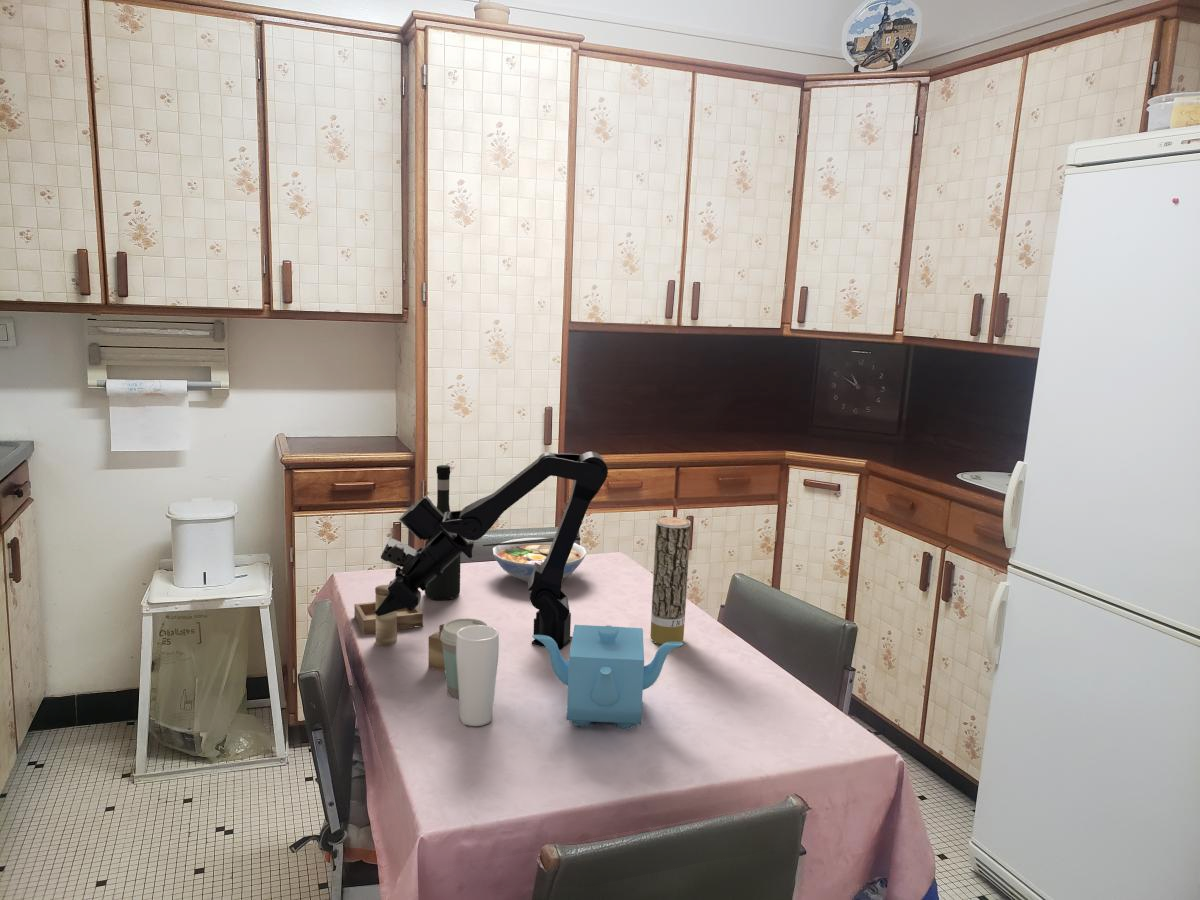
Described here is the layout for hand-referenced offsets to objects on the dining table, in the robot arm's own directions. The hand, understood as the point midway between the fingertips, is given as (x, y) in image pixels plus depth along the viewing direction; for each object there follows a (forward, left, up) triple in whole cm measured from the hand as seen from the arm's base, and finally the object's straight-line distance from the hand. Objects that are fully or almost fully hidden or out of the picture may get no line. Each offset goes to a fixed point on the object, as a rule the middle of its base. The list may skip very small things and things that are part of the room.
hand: (379, 609), depth 172 cm
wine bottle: (+4, -29, -7) cm, 30 cm away
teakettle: (-51, +8, -7) cm, 52 cm away
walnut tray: (+5, -10, -7) cm, 13 cm away
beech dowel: (-1, -1, -7) cm, 7 cm away
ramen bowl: (-10, -50, -7) cm, 51 cm away
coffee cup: (-26, +11, -7) cm, 29 cm away
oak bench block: (-20, +4, -7) cm, 22 cm away
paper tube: (-50, -28, -7) cm, 58 cm away
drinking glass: (-33, +19, -7) cm, 39 cm away
